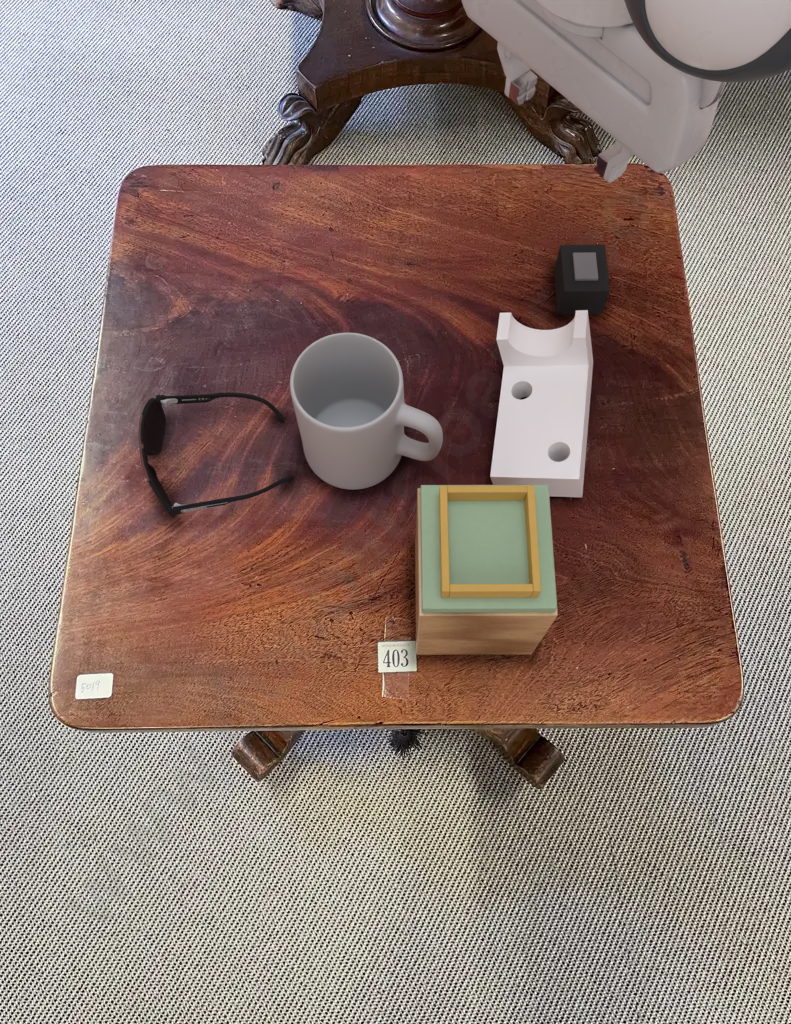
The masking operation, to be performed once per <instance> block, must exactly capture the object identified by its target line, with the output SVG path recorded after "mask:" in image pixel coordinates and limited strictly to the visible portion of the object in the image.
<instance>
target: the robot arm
mask: <svg viewBox="0 0 791 1024" xmlns="http://www.w3.org/2000/svg"><path fill="white" fill-rule="evenodd" d="M460 2H461V4H462V6H463V10H464V11H465V15H466V16H467V18H469V19H470V20H471V21H472V22H474V23H475V24H476V25H477V26H478V27H480V28H481V29H482V30H483V31H485V33H487V34H488V35H489V36H490V37H492V38H493V39H494V40H495V41H496V42H497V46H496V50H497V54H498V56H499V57H498V58H499V60H500V63H501V67H502V70H503V75H504V76H505V77H506V78H505V85H504V95H505V96H506V97H507V98H508V99H511V101H512V102H513V103H515V105H517V106H519V107H520V106H522V105H524V103H525V102H528V101H530V100H531V99H532V98H533V97H534V96H535V93H536V85H537V83H538V76H539V77H540V78H541V79H543V81H545V82H546V83H547V84H548V85H549V86H551V87H552V88H553V89H555V91H557V92H558V93H559V94H560V95H561V96H563V97H564V98H565V99H567V100H568V101H569V102H570V103H571V104H572V105H573V106H575V107H576V108H577V109H579V110H580V112H582V113H583V114H584V115H586V117H588V118H589V119H590V120H592V121H593V122H594V123H595V124H596V125H597V126H599V127H600V128H601V129H603V130H604V132H606V133H608V134H609V135H610V136H611V137H612V138H613V139H614V140H615V142H614V143H612V144H611V145H609V147H608V149H604V150H602V151H601V152H600V153H598V154H597V157H596V161H595V162H596V163H595V164H596V165H595V166H594V168H593V169H594V172H595V173H597V174H598V175H599V177H601V178H602V179H603V180H604V181H606V183H608V184H611V183H613V182H614V181H616V180H617V179H619V178H620V177H622V176H623V175H624V173H625V172H626V170H627V168H628V164H629V162H630V159H631V158H632V157H634V156H635V158H638V160H640V161H641V162H642V163H644V164H645V165H646V166H647V167H648V168H649V169H651V170H652V171H653V172H655V173H657V174H662V173H666V172H669V171H673V170H675V169H677V168H679V167H680V166H683V164H686V163H687V161H689V160H690V159H692V158H693V157H694V156H696V154H698V153H699V152H700V151H701V150H702V149H703V148H704V147H705V145H706V143H707V141H708V138H709V135H710V133H711V129H712V126H713V123H714V120H715V116H716V113H717V109H718V106H719V101H720V99H721V95H722V94H723V91H724V89H725V87H726V84H727V83H751V82H756V81H762V80H766V79H770V78H774V77H776V76H778V75H781V74H783V73H785V72H787V71H789V70H791V0H460Z"/></svg>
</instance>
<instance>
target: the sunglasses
mask: <svg viewBox="0 0 791 1024" xmlns="http://www.w3.org/2000/svg"><path fill="white" fill-rule="evenodd" d="M219 398H240V399H248V400H251V401H252V400H253V401H256V402H260V403H262V404H263V405H265V406H267V407H268V408H269V409H270V410H271V411H272V412H273V413H274V415H275V417H276V419H277V420H278V421H279V422H284V420H285V417H284V416H283V414H282V412H280V410H279V409H278V408H276V406H275V405H274V404H272V403H271V402H270V401H268V400H267V399H265V398H263V397H261V396H257V395H254V394H249V393H245V392H234V391H233V392H227V391H226V392H215V393H204V394H181V395H179V394H178V395H164V394H156V395H155V398H154V397H151V398H149V399H148V401H146V403H145V405H144V407H143V410H142V412H141V415H140V418H139V423H138V448H139V455H140V463H141V466H142V470H143V474H144V475H145V478H146V481H147V482H148V484H149V486H150V488H151V490H152V491H153V493H154V495H155V496H156V497H157V499H158V500H159V502H160V503H161V505H162V506H163V508H164V509H165V510H166V511H167V513H168V514H169V515H170V517H171V518H173V519H174V518H175V517H176V516H177V515H181V514H182V515H183V514H185V513H190V512H196V511H201V510H207V509H212V508H213V509H214V508H218V507H223V506H226V505H228V504H231V503H233V502H237V501H243V500H247V499H251V498H254V497H257V496H260V495H262V494H264V493H266V492H268V491H271V490H272V489H274V488H276V487H279V486H280V485H282V484H285V483H288V484H289V483H290V482H292V481H293V479H294V478H295V475H293V474H290V475H288V476H286V477H283V478H281V479H278V480H277V481H275V482H273V483H271V484H269V485H268V486H265V487H264V488H261V489H259V490H256V491H253V492H250V493H246V494H242V495H241V494H240V495H236V496H229V497H224V498H218V499H211V500H205V501H199V502H194V503H186V504H180V503H178V502H174V503H173V505H172V504H171V503H172V502H171V501H170V499H169V497H168V494H167V492H166V490H165V488H164V486H163V485H162V483H161V481H160V480H159V478H158V474H157V471H156V469H155V468H154V466H153V465H151V464H150V463H149V458H148V457H152V456H153V457H154V456H157V455H158V454H159V453H160V452H161V451H162V447H163V443H164V436H165V431H166V424H167V418H166V417H167V416H166V414H165V411H164V408H163V406H164V407H165V408H166V407H168V406H169V405H186V404H187V405H189V404H204V403H210V402H212V401H213V400H216V399H219Z"/></svg>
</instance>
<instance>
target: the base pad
mask: <svg viewBox="0 0 791 1024" xmlns="http://www.w3.org/2000/svg"><path fill="white" fill-rule="evenodd" d="M420 488H421V570H422V612H555V611H556V609H558V597H557V598H556V595H557V585H556V584H555V581H556V570H554V567H555V555H554V556H553V553H554V541H553V542H552V539H553V527H552V528H551V525H552V513H551V514H550V511H551V499H550V500H549V497H550V496H549V486H548V485H493V484H421V485H420Z"/></svg>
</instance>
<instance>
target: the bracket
mask: <svg viewBox="0 0 791 1024" xmlns="http://www.w3.org/2000/svg"><path fill="white" fill-rule="evenodd" d="M498 316H499V317H498V324H497V332H496V338H495V340H496V343H497V347H498V351H499V355H500V358H501V362H502V365H503V370H502V378H501V386H500V393H499V394H500V395H499V402H498V408H497V409H498V410H497V417H496V426H495V434H494V441H493V450H492V458H491V466H490V473H489V474H490V475H489V478H490V480H491V483H492V485H548V486H549V497H559V498H583V494H584V482H585V471H586V470H585V469H586V458H587V445H588V435H589V419H590V407H591V394H592V382H593V372H594V355H593V347H592V336H591V327H590V319H589V318H590V317H589V314H588V310H576V313H575V314H574V317H573V319H572V320H571V321H570V322H569V323H568V324H565V325H564V326H561V327H557V328H553V329H538V328H532V327H530V326H526V325H524V324H522V323H520V322H519V321H517V319H515V317H514V316H513V313H512V312H511V311H510V312H499V315H498ZM522 398H523V399H522Z"/></svg>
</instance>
